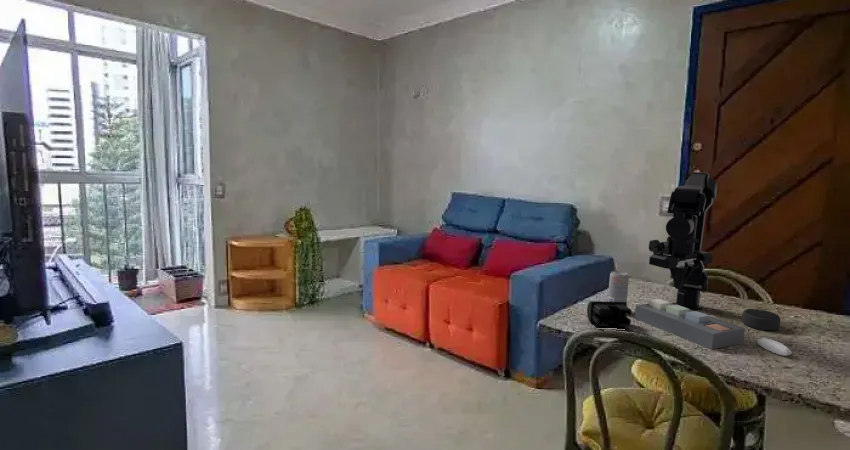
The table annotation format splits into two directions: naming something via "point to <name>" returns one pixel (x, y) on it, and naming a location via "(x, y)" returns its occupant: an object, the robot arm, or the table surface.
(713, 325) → the key terracotta
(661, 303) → the key ivory
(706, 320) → the key slate
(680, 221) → the robot arm
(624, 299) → the energy drink
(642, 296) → the table surface
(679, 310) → the key sage
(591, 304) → the end cap
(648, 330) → the table surface
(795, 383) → the table surface
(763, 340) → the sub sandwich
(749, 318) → the smart speaker
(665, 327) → the keypad
